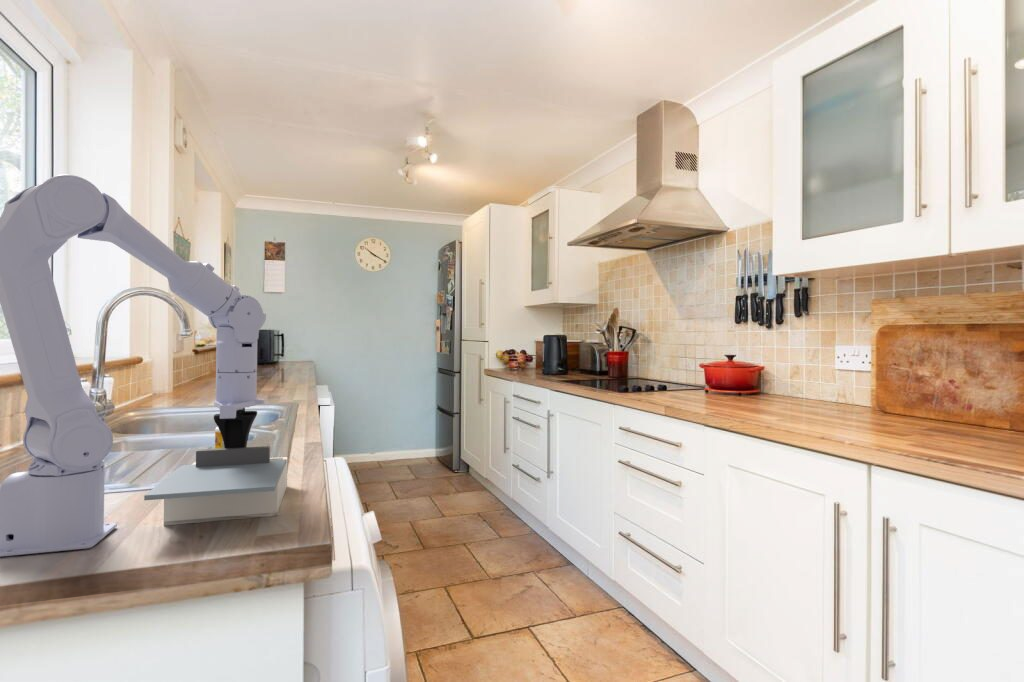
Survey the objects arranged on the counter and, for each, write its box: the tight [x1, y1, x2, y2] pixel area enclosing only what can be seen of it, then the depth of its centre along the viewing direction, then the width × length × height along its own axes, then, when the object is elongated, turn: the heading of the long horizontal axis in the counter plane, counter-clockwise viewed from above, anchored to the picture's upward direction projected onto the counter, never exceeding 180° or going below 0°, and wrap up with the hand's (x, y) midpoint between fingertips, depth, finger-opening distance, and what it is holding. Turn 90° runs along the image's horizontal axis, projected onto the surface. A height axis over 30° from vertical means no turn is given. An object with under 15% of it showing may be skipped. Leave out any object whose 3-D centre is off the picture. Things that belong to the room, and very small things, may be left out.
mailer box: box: [163, 456, 288, 526], centre depth 81 cm, size 14×16×5 cm
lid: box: [143, 445, 286, 501], centre depth 75 cm, size 15×17×3 cm
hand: (235, 458), depth 83 cm, fingers closed
